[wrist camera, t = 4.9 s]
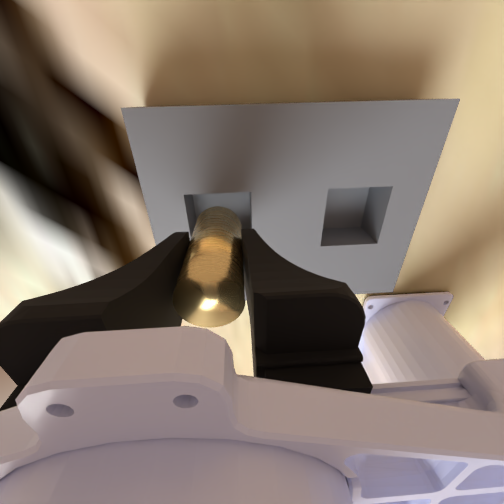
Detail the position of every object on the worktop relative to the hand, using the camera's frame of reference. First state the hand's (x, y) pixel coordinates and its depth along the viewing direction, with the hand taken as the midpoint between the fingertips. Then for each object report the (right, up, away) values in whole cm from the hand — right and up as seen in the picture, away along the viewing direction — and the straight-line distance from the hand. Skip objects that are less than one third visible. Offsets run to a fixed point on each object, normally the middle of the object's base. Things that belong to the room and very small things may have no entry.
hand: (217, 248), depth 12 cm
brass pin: (0, +1, +2) cm, 2 cm away
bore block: (+4, +3, +5) cm, 7 cm away
